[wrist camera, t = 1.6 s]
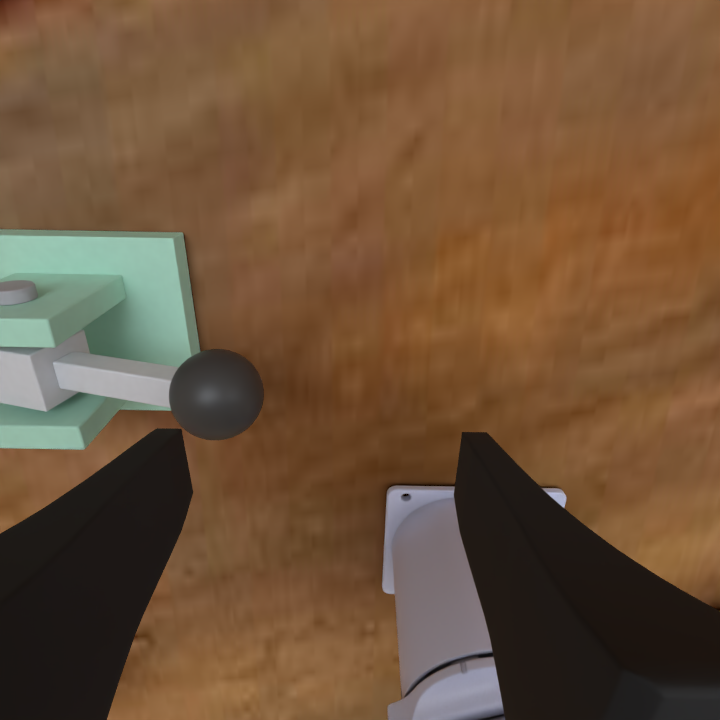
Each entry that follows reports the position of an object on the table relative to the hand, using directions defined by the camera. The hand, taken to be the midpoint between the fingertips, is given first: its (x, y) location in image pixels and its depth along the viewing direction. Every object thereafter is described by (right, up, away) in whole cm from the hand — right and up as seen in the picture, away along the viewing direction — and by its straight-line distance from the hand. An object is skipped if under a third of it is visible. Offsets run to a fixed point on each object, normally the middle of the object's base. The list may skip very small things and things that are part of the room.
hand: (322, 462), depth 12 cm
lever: (-7, +3, +6) cm, 9 cm away
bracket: (-11, +4, +10) cm, 15 cm away
